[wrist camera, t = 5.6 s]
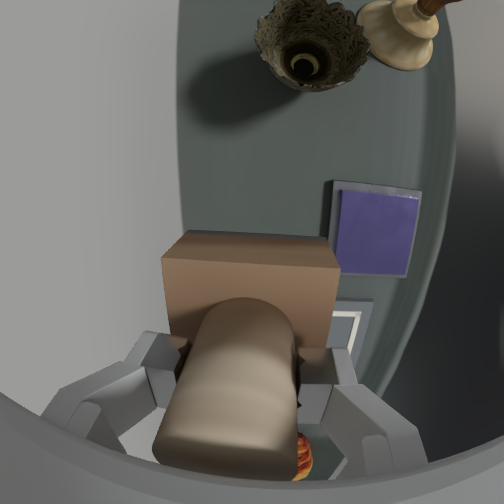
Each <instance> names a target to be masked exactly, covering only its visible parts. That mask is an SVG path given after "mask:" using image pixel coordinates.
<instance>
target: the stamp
mask: <svg viewBox="0 0 504 504" xmlns="http://www.w3.org/2000/svg"><path fill="white" fill-rule="evenodd" d="M161 264H162V273H163V282H164V290H165V298H166V306H167V313H168V320H169V326H170V333H171V335H176V336H182V337H189V338H191V339H192V344H193V345H192V347H191V350H190V352H189V355H188V357H187V359H186V362H185V364H184V367H183V369H182V372H181V374H180V377H179V379H178V382H177V384H176V387H175V389H174V392H173V394H172V397H171V399H170V402H169V404H168V407H167V409H166V412H165V414H164V417H163V419H162V422H161V425H160V427H159V430H158V432H157V435H156V437H155V440H154V443H153V446H152V452H153V455H154V456H155V458H156V460H157V461H158V462H159V463H160V464H162V465H166V466H170V467H174V468H179V469H183V470H188V471H193V472H199V473H204V474H210V475H217V476H224V477H232V478H242V479H253V480H269V481H292V480H293V479H294V478H295V477H296V475H297V473H298V424H297V388H296V352H297V348H298V347H322V348H326V343H327V339H328V334H329V330H330V325H331V320H332V315H333V310H334V305H335V300H336V294H337V289H338V283H339V277H340V271H341V268H340V266H339V264H338V261H337V259H336V257H335V255H334V253H333V251H332V249H331V247H330V245H329V243H328V241H327V238H326V237H315V236H299V235H282V234H264V233H246V232H226V231H204V230H188V231H187V232H186V233H185V234H184V235H183V236H182V237H181V238H180V239H179V240H178V241H177V242H176V243H175V244H174V245H173V246H172V247H171V248H170V249H169V250H168V251H167V252H166V253H165V254H164V255H163V256H162V257H161Z"/></svg>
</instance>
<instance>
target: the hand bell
mask: <svg viewBox="0 0 504 504" xmlns="http://www.w3.org/2000/svg"><path fill="white" fill-rule="evenodd" d="M458 1H462V0H394V1H393V2H390V1H374V2H371V3H368V4H366V5H365V6H364V7H362V9H361V10H360V11H359V13H358V16H357V22H356V24H357V25H359V24H361V25H364V26H365V32H364V34H363V35H364V37H365V38H367V39H368V40H369V41H370V42H371V48H370V50H369V51H370V52H371V53H372V54H373V55H374V56H375V57H376V58H378V59H379V60H381V61H382V62H384V63H385V64H387V65H389V66H391V67H394V68H396V69H400V70H406V71H411V70H417V69H420V68H422V67H424V66H425V65H426V64H427V63H428V62H429V60H430V58H431V55H432V50H433V44H432V38H433V37H434V36H435V35H436V34H437V32H438V28H439V25H438V21H437V18H436V16H435V14H436V13H437V12H438V11H439V10H440V9H441V8H442V7H443V6H445V5H446V4H448V3H452V2H458Z"/></svg>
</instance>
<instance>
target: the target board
mask: <svg viewBox="0 0 504 504" xmlns="http://www.w3.org/2000/svg"><path fill="white" fill-rule="evenodd" d="M373 304H374V301H373V299H345V298H336V300H335V305H334V310H333V315H332V320H331V325H330V330H329V334H328V339H327V343H326V348H330V347H347V348H348V350H349V354H350V357H351V361H352V364H353V368H354V369H355V366H356V363H357V360H358V357H359V354H360V351H361V348H362V344H363V341H364V338H365V334H366V331H367V327H368V323H369V320H370V316H371V312H372V308H373Z"/></svg>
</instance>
